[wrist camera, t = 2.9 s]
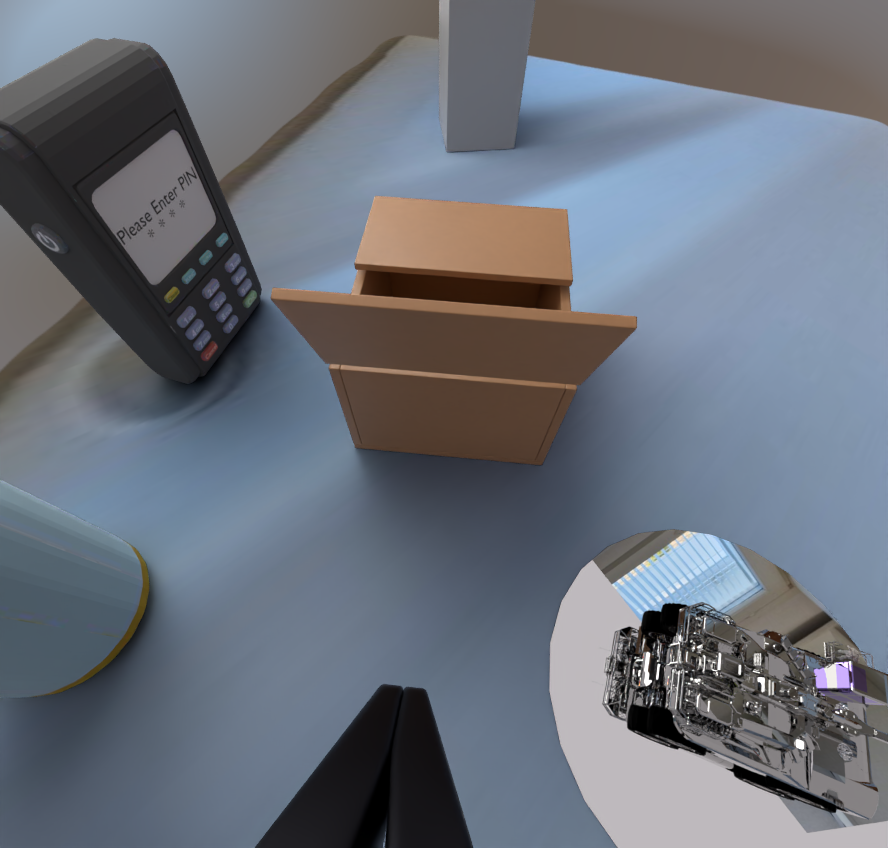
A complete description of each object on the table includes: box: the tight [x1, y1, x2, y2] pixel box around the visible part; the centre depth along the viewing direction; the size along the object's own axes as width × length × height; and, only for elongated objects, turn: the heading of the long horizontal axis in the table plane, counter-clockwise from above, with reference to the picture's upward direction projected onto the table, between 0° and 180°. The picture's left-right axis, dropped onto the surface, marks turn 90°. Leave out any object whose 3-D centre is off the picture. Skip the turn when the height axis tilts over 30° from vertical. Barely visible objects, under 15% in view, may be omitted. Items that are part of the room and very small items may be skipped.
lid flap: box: [271, 288, 637, 385], centre depth 16 cm, size 6×11×1 cm
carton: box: [329, 196, 577, 465], centre depth 25 cm, size 12×11×8 cm
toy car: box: [549, 529, 888, 848], centre depth 17 cm, size 15×15×5 cm
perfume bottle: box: [439, 0, 535, 152], centre depth 37 cm, size 7×7×18 cm
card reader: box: [0, 38, 262, 384], centre depth 24 cm, size 9×4×15 cm, turn 163°
